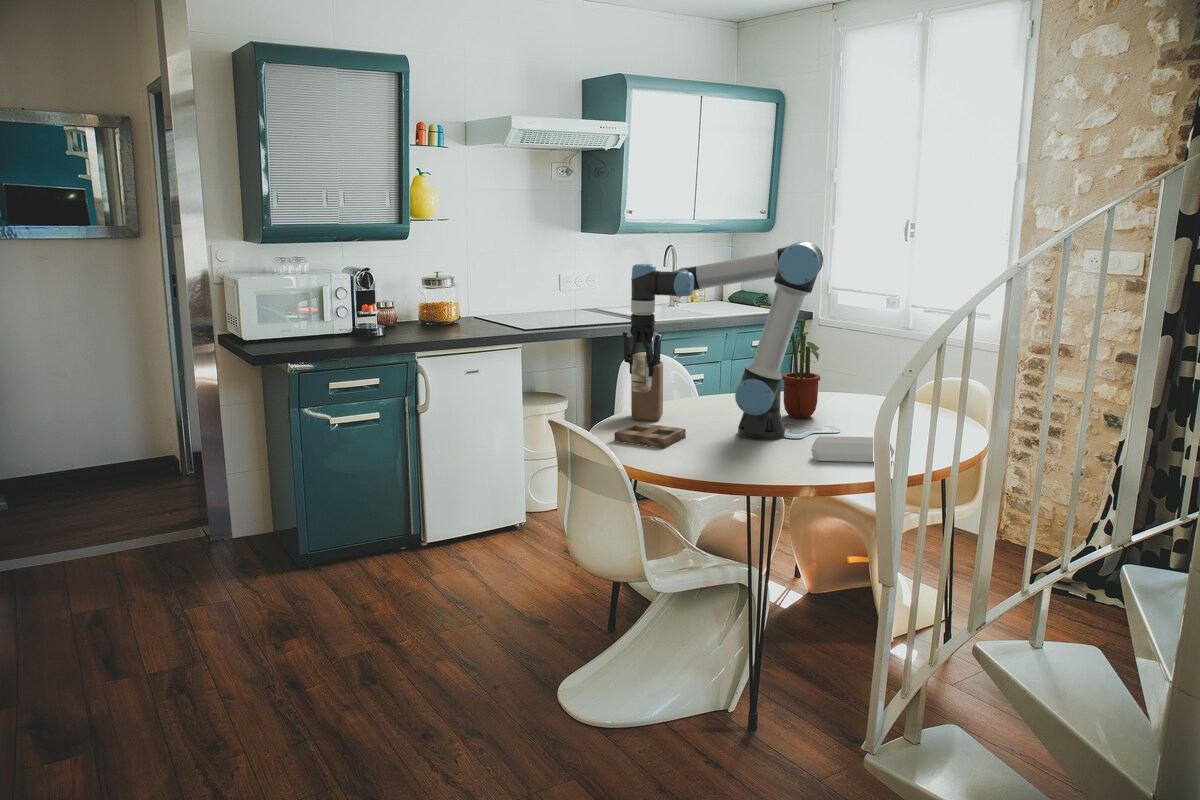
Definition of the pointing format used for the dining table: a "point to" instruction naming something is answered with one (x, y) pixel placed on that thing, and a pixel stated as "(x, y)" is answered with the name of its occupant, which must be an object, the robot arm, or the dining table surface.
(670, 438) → the walnut board
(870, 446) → the crystal
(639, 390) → the beech peg
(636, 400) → the wooden block
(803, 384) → the potted plant
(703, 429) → the dining table surface
